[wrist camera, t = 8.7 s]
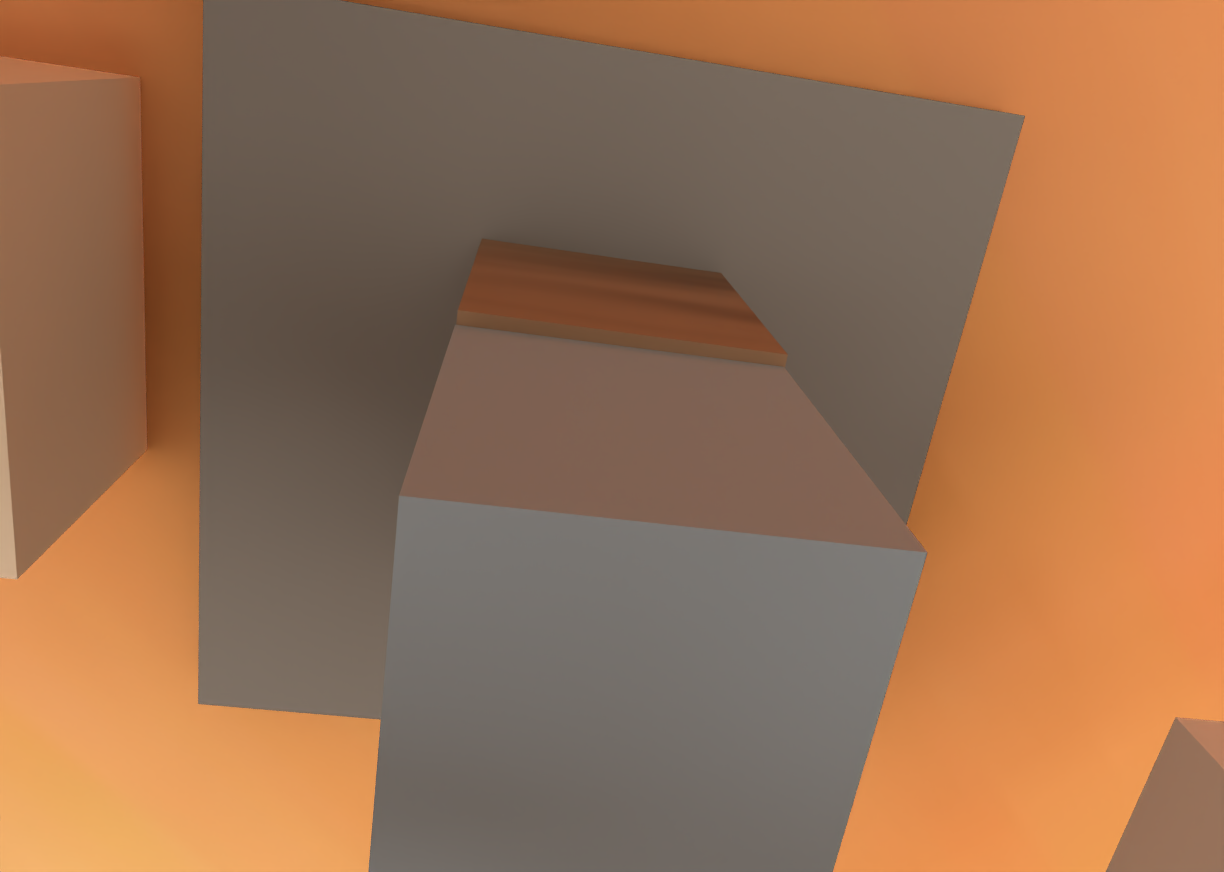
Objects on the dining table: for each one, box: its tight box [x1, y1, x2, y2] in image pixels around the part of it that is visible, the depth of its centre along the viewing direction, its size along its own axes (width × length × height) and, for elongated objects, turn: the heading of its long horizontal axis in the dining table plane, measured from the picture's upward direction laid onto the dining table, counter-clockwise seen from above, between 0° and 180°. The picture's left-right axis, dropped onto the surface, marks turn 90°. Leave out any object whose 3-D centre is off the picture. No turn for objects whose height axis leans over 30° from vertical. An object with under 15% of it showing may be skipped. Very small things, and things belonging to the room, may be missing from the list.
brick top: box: [369, 325, 927, 872], centre depth 13 cm, size 8×5×6 cm, turn 171°
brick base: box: [456, 239, 788, 368], centre depth 19 cm, size 8×5×6 cm, turn 171°
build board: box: [198, 0, 1025, 719], centre depth 22 cm, size 16×16×1 cm
